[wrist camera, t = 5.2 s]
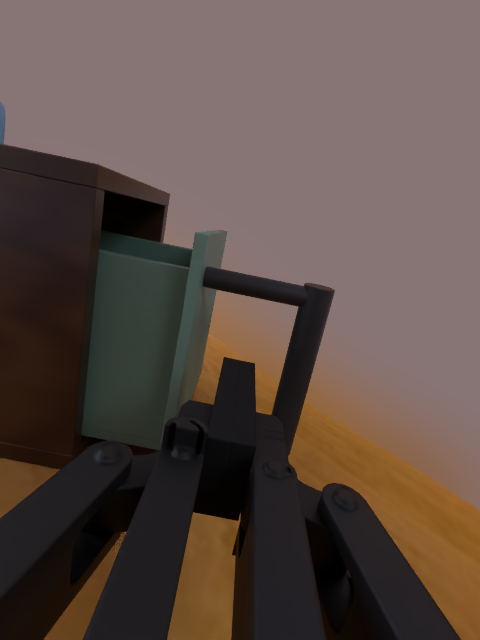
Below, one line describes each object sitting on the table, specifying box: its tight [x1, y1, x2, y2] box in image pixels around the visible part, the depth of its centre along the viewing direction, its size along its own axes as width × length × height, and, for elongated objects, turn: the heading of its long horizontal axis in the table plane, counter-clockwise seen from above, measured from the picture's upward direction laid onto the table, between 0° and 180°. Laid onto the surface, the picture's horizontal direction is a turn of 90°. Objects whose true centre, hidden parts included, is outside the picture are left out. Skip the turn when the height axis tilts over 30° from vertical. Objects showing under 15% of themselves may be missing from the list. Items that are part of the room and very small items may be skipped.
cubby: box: [0, 144, 170, 469], centre depth 24 cm, size 14×14×16 cm
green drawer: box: [81, 230, 335, 456], centre depth 24 cm, size 20×14×13 cm
